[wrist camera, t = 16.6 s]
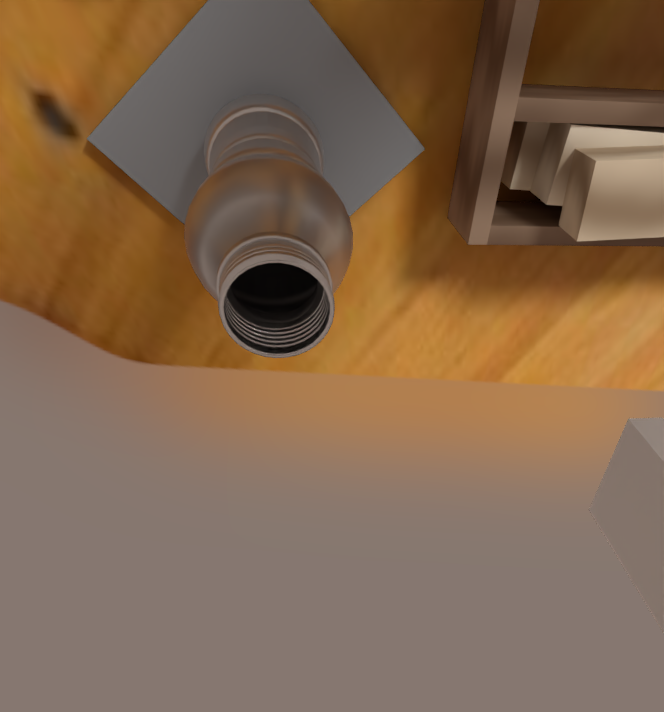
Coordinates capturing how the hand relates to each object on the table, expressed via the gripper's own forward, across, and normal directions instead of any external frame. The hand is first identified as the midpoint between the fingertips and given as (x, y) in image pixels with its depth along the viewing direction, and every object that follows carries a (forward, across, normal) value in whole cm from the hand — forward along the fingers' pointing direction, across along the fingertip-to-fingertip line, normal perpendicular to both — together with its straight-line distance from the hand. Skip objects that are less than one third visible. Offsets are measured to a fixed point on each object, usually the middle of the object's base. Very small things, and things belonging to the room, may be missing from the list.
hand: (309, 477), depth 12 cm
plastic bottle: (+28, 0, -1) cm, 28 cm away
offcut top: (+24, +23, -1) cm, 34 cm away
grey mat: (+29, 0, -1) cm, 29 cm away
